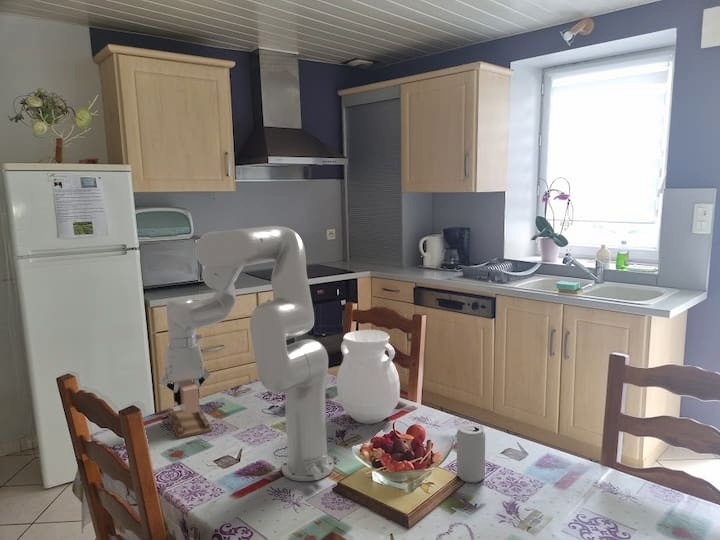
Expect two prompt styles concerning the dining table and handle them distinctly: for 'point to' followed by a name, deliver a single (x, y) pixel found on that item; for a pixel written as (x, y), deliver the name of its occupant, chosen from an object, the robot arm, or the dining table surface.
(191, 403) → the block
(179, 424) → the rack
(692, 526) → the dining table surface
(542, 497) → the dining table surface
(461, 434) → the beverage can
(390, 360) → the white vase
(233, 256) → the robot arm
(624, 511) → the dining table surface
